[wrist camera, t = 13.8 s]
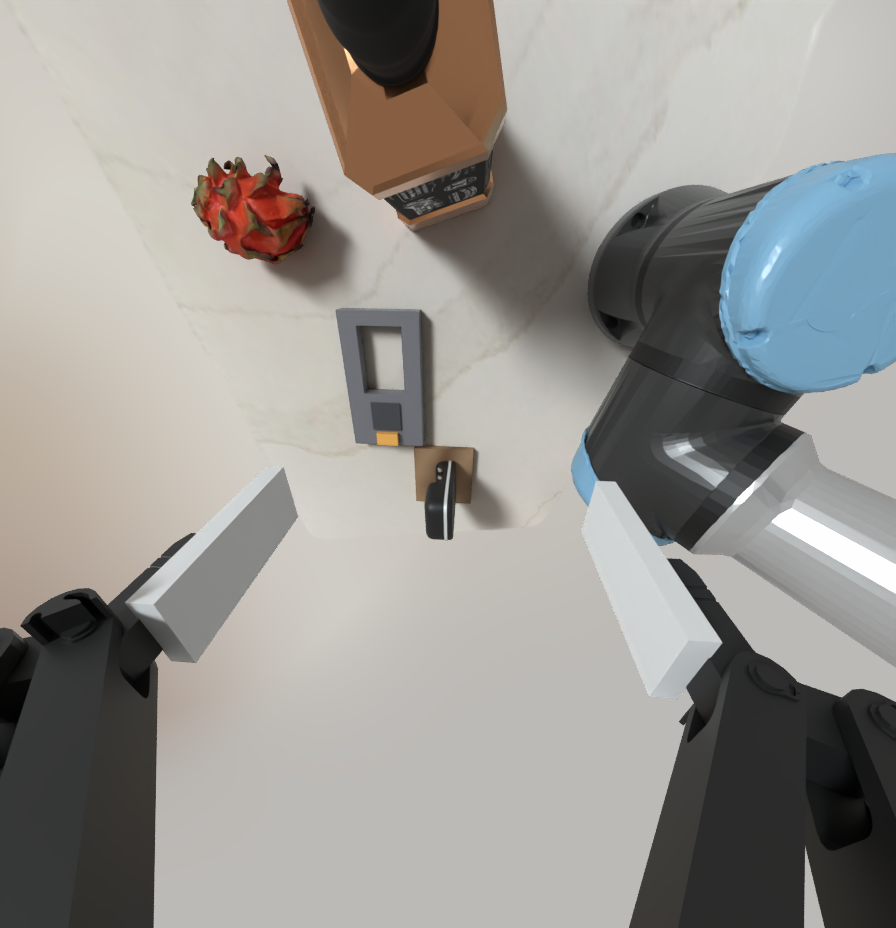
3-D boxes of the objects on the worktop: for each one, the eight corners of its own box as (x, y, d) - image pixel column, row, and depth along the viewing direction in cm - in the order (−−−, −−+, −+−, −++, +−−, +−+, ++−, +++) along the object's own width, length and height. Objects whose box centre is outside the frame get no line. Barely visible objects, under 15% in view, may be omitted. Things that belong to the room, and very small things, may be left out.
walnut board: (473, 447, 50) (473, 450, 49) (470, 499, 55) (470, 503, 54) (415, 445, 50) (414, 448, 49) (417, 497, 55) (416, 500, 54)
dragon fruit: (223, 213, 38) (329, 213, 38) (223, 283, 37) (331, 281, 38) (164, 132, 29) (301, 134, 30) (163, 221, 28) (303, 220, 29)
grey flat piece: (420, 309, 40) (417, 312, 38) (424, 439, 49) (422, 448, 47) (341, 308, 41) (333, 310, 38) (359, 437, 50) (354, 445, 48)
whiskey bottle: (494, 202, 34) (579, -47, 7) (407, 233, 36) (205, 130, 9) (472, 62, 29) (469, -2742, 2) (371, 106, 31) (-341, -1029, 4)
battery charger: (431, 458, 50) (421, 504, 40) (456, 458, 50) (452, 505, 40) (433, 494, 53) (424, 545, 44) (456, 495, 53) (452, 546, 43)
